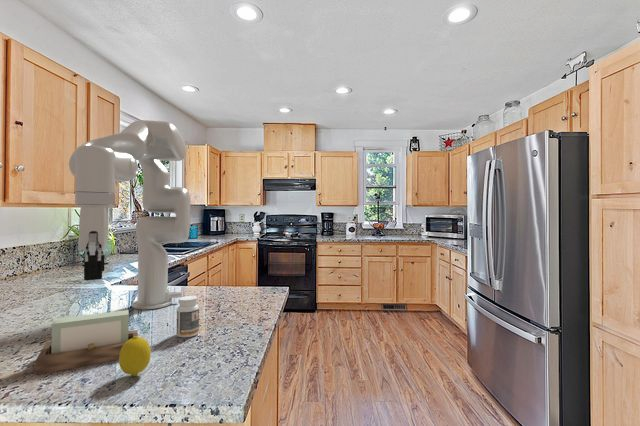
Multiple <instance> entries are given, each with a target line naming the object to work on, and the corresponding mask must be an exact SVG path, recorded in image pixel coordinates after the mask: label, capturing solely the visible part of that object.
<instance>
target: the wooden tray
mask: <svg viewBox="0 0 640 426" xmlns="http://www.w3.org/2000/svg"><path fill="white" fill-rule="evenodd" d="M134 336H138V337H139V335H138V329H133V330H128V340H129V339H131V338H133V337H134ZM125 343H126V342H122V343H115V344H109V345H103V346H97V347H95V344H94V343H91V344H88V348H85V349H79V350H72V351H66V352H60V353H54V354H51V346H52V342H45V344H44V346H43V347H42V349H41V350H40V353H39V354H38V356H37V358H36V359H35V376H36V375H37V376H38V375H41V374H48V373H53V372H58V371H59V372H60V371H65V370H69V369H74V368H79V367H80V368H81V367H85V366H91V365H97V364H101V363H107V362H113V361H117V360H118V361H119V355H120V351H121V348H122V346H123V345H124V344H125Z"/></svg>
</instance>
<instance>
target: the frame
mask: <svg viewBox="0 0 640 426" xmlns="http://www.w3.org/2000/svg"><path fill="white" fill-rule="evenodd" d="M129 311H130V310H129V309H126V310H118V311H110V312H101V313H93V314H92V313H91V314H85V315H76V316H66V317H57V318H55V319H54V320H53V322H52V323H51V343H52V346H51V354H54V353H60V352H66V351H72V350H79V349H85V348H88V344H91V343H94V344H95V347H97V346H103V345H109V344H115V343H122V342H127V341H128V331H129V325H130V324H129V319H130V318H129V315H130V314H129V313H130V312H129Z"/></svg>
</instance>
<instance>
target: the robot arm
mask: <svg viewBox="0 0 640 426" xmlns="http://www.w3.org/2000/svg"><path fill="white" fill-rule="evenodd" d="M186 156H187V146H186V143H185V140H184V138H183V136H182V135H181V132H180V131H179V129H178V128H177V126H175V125H174V124H173V123H172V122H169V121H161V120H160V121H159V120H147V119H146V120H145V119H140V120H135V121H133V122H131V123H130V124H129V125H128V126H127V127H125V128H124V129H123V130H122V131H120V132H119V133H116V134H111V135H108V136H102V137H100V138H95V139H91V140H89V141H86V142H84V143H83V144H81V145H80V146H78V147H76V149H75V150H74V151H72V154H71V155H70V158H69V162H68V167H69V171H70V173H71V175H72V176H74V177H75V178H74V181H75V182H74V183H75V184H74V185H75V186H74V191H75V192H74V207H75V208H80V209H79V219H78V220H79V222H78V242H77V243H78V244H77V245H78V246H77V251H78V252H80V253H83V252H84V250H85V258H84V262H83V280H84V281H95V280H99V281H100V280H101V279H103V272H104V271H105V254H104V252H105V250H106V248H107V243H108V235H109V222H110V221H109V219H110V217H109V214H110V213H109V211H110V208H115V207H116V183H117V182H120V183H124V182H129V181H132V180H133V179H135V178H136V176H137V175H138V172H139V165H138V163H139V164H140V167H141V170H142V174H143V176H142V177H143V181H142V182H143V183H142V201H141V202H142V208H143V210H145V211H146V212H149V213H155V214H157V213H158V214H175V216H164V215H162V216H161V215H159V216H158V215H156V216H155V215H154V216H153V215H151V216H143V217H141V218H140V219H138V220H137V221H136V224H135V235H136V241H137V242H136V243H137V254H138V255H137V292H136V293H137V300H135V301H134V302H132V304H131V306H132V308H133V309H135V310H142V311H143V310H144V311H145V310H154V309H155V310H156V309H161V308H165V307H168V306H170V305H172V304H173V299H177V298H178V299H179V298H181V297H182V292H181V291H179V292H177V291H173V292H171V291H169V289H168V284H169V283H168V280H169V278H168V271H169V255H168V251H167V250H166V249H165V247H164V246H163V245H162V244H181V243H185V242H187V241H188V239H189V237H190V229H191V227H190V226H191V225H190V224H191V195H190V192H189V191H188V189H186V188H184V187H181V186H170V177H171V176H170V172H169V170H168V169H167V168H166V166H165V165H164V164H163V163H162V162H161V161H168V162H170V161H171V162H180V161H183V160H184V159H185V157H186ZM137 161H138V162H137Z"/></svg>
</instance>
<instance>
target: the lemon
mask: <svg viewBox="0 0 640 426" xmlns="http://www.w3.org/2000/svg"><path fill="white" fill-rule="evenodd" d="M151 354H152V350H151V346H150V344H149V341H147V340H146V339H145V338H143V337H141V336H139V335H138V336H134V337H133V338H131V339H129V340H128V341H127V342H126V343H125V344H124V345H123V346H122V348H121V351H120V355H119V359H118V363H119V364H118V365H119V367H120V369H121V370H122V372H123V373H124V374H127V375H130V376H132V377H137V376H138V375H139V374H140V373H142V372H143V371H144V370H145V369H146V368H148V365H149V364H150V361H151V357H152V355H151Z"/></svg>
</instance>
